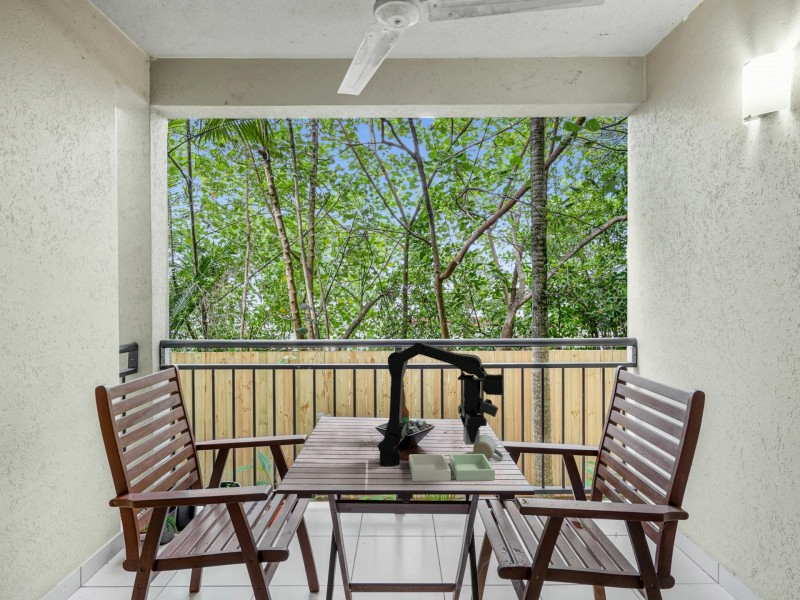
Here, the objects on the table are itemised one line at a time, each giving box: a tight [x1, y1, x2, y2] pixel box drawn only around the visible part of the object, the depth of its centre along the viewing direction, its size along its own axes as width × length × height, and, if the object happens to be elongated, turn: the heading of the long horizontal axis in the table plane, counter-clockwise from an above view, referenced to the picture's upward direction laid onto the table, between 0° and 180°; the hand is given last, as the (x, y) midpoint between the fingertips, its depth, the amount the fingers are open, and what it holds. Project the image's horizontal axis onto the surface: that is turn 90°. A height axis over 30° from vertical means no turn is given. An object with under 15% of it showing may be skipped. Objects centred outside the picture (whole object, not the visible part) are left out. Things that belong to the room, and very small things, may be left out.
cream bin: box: [408, 453, 452, 482], centre depth 170 cm, size 12×16×4 cm
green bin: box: [448, 453, 496, 482], centre depth 171 cm, size 12×16×4 cm
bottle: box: [402, 380, 410, 431], centre depth 201 cm, size 7×7×25 cm
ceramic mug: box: [472, 434, 504, 462], centre depth 186 cm, size 11×8×8 cm
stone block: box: [462, 426, 481, 446], centre depth 170 cm, size 4×4×5 cm
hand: (471, 440), depth 170 cm, fingers closed on stone block, 4 cm apart
